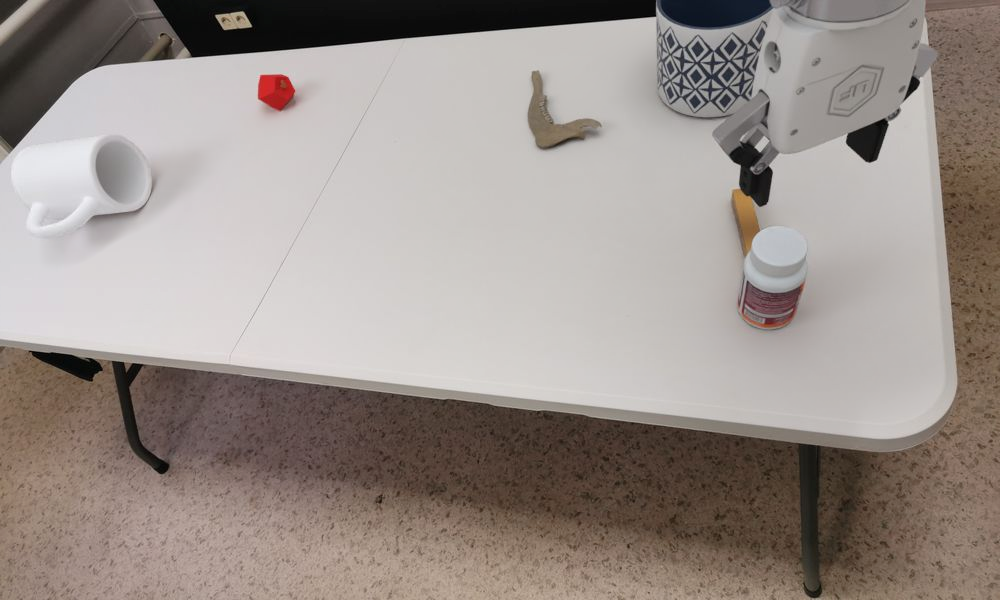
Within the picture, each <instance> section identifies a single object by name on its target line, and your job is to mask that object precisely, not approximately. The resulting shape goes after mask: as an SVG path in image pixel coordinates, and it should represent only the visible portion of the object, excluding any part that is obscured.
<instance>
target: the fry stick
mask: <svg viewBox="0 0 1000 600" xmlns="http://www.w3.org/2000/svg"><path fill="white" fill-rule="evenodd" d="M731 192H732V193H731V197H730V198H731V199H730V200H731V206H732V211H733V214H734V218H735V223H736V227H737V230H738V236H739V241H740V245H741V249H742V254H743V258H744V259H745V258H746V256H747V254H748V253H749V252H750V249H751V245H752V241H753V239H754V237H755V236H756V234H757V233H759V232H760V231H761V229H760V225H759V221H758V218H757V213H756V210H755V206H754V201H753V199H752V198H751V197H750V196H746V195H745V194H744V193H743V192H742V191H741V189H740V188H734V189H732V191H731Z"/></svg>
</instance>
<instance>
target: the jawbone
mask: <svg viewBox="0 0 1000 600" xmlns="http://www.w3.org/2000/svg"><path fill="white" fill-rule="evenodd" d="M542 78H543V77H542V76H541V72H540V71H539V70H538V69H537V70H532V71H531V81H532V84H533V91H532V92H533V93H532V96H531V98H530V101H529V105H528V108H527V109H528V110H527V121H528V126H529V128H530V130H531V132H532V133H533V134H534V136H535V144H536V145H537V146H538V147H540V148H550V147H553V146H555V145H556V144H558V143H560V142H564V141H565V140H567V139H570V138H571V139H572V138H579V139H581V140H585V139H586V131H585V130H584V129H583V128H586V127H587V128H588V127H589V128H592V129H594V130H596V129H597V128H599V127H600V128H602V127H603V126H602V123H601V122H600V121H598V120H596V119H593V118H578V119H575V120H572V121H570V122H567V123H554V119H553V118H552V116H551V114H550V112H549V111H548V108H547V101H548V99H547V98H548V95H547V94H543V79H542Z"/></svg>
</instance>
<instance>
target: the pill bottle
mask: <svg viewBox="0 0 1000 600" xmlns="http://www.w3.org/2000/svg"><path fill="white" fill-rule="evenodd" d="M808 251H809V246H808V241H807V240H806V238H805V237H804V235H803V234H802V233H800V232H799V231H798V230H796V229H794V228H792V227H788V226H785V225H784V226H783V225H773V226H769V227H766V228H763V229H760V232H759V233H757V234H756V236H755V237H754V239H753V241H752V245H751V249H750V252H749V253H748V254H747V256H746V258H744V260H743V264H742V270H741V271H742V272H741V278H740V283H739V284H740V285H739V291H738V297H737V310H738V313H739V315H740V316H741V318H742V319H743V320H744V321H745V322H746V323H747V324H749V325H751V326H753V327H754V328H757V329H761V330H777V329H780V328H783V327H785V326H787V325H788V324H790V323H791V322H792V320H794V318H795V315H796V313H797V310H798V308H799V307H798V306H799V304H800V301H801V297H802V294H803V290H804V288H805V287H804V286H805V284H806V280H807V276H808V272H809V264H808V260H807V255H808Z"/></svg>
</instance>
